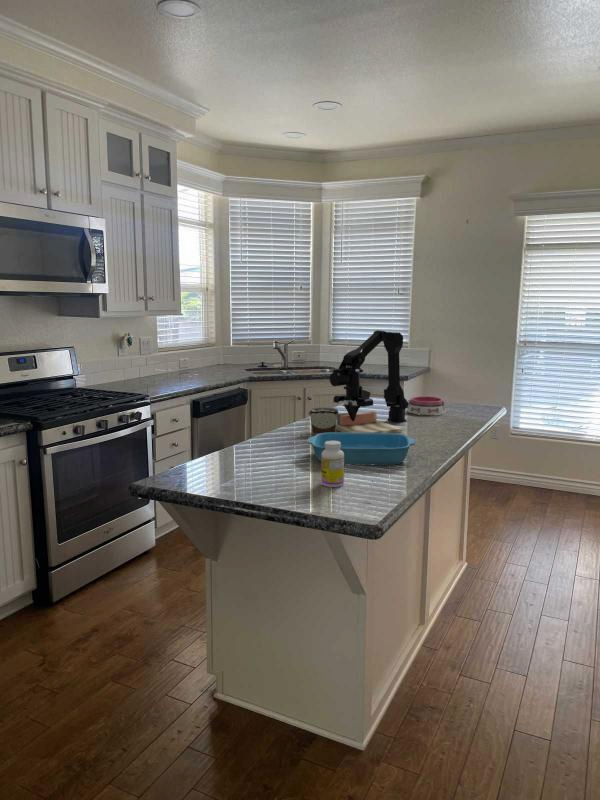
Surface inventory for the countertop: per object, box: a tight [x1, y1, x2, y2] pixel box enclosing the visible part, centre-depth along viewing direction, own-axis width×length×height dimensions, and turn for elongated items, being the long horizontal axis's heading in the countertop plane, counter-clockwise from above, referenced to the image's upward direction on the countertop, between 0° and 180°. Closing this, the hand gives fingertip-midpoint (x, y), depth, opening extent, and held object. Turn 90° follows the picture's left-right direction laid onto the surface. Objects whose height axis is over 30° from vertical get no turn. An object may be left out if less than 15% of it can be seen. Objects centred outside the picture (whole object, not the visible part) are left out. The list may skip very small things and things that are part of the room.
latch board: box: [336, 412, 403, 434], centre depth 247 cm, size 22×20×6 cm
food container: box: [308, 407, 340, 435], centre depth 243 cm, size 12×6×10 cm, turn 84°
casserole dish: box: [306, 431, 417, 466], centre depth 203 cm, size 37×22×7 cm, turn 84°
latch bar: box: [340, 411, 377, 426], centre depth 252 cm, size 17×3×4 cm, turn 116°
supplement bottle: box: [320, 441, 345, 488], centre depth 174 cm, size 7×7×13 cm
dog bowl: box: [406, 395, 447, 416], centre depth 286 cm, size 18×19×7 cm
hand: (353, 420), depth 248 cm, fingers closed
